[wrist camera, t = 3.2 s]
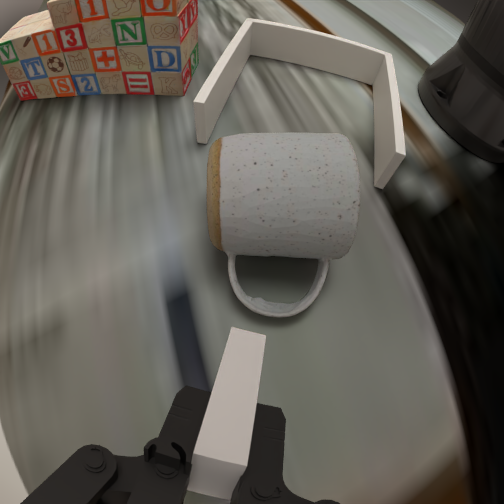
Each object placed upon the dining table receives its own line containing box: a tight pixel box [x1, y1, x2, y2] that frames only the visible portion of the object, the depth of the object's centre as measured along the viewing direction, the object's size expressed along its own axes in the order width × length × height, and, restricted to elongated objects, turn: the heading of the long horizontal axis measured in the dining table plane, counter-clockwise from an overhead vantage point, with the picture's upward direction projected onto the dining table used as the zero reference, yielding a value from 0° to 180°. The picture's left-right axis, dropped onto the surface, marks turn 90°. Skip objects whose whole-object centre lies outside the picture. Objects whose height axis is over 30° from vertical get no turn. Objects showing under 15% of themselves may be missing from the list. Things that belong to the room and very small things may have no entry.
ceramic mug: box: [207, 133, 360, 318], centre depth 19 cm, size 11×8×8 cm
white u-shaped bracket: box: [194, 18, 406, 189], centre depth 26 cm, size 16×16×4 cm
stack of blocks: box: [0, 0, 199, 101], centre depth 23 cm, size 21×6×12 cm, turn 83°
